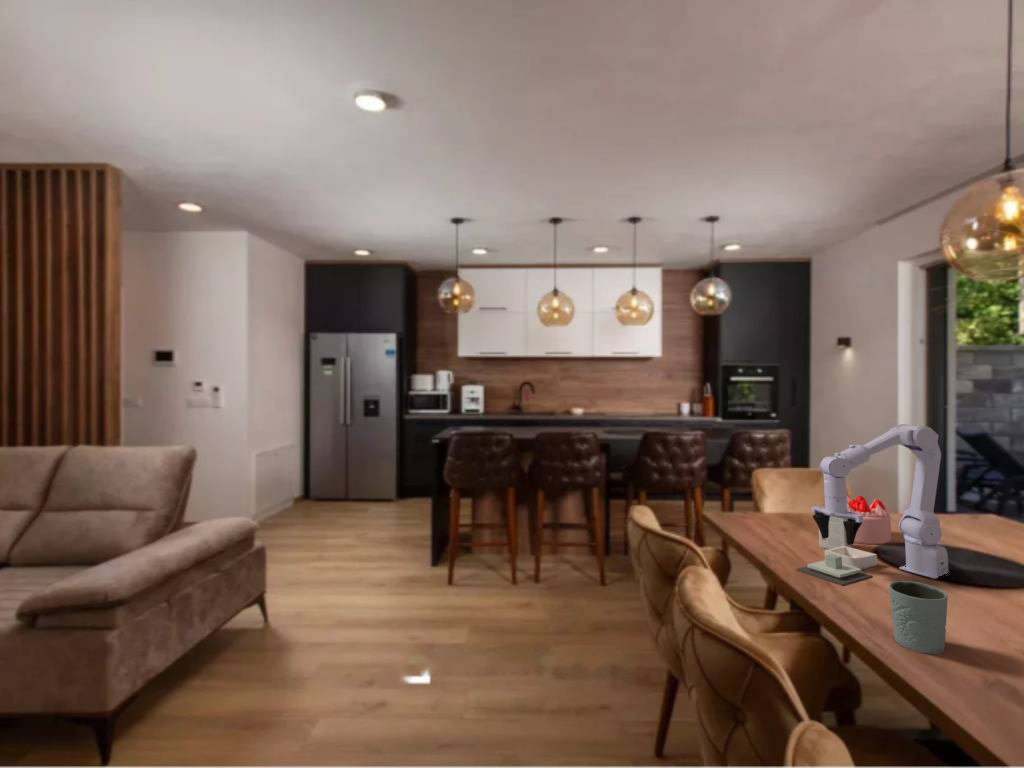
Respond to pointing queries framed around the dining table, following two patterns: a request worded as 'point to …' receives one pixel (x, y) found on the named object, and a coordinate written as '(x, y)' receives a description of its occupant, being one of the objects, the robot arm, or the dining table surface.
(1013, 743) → the dining table surface
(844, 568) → the lid
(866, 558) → the shallow white tray
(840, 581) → the mat
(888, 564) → the dining table surface
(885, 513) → the cake
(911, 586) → the green embossed pot
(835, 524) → the small box
